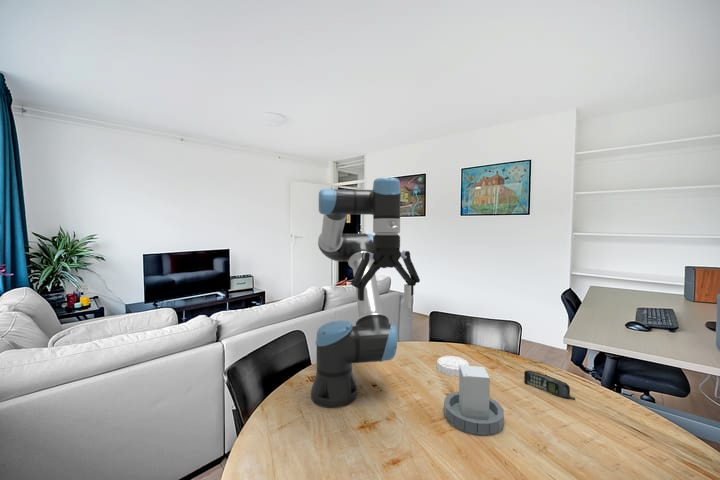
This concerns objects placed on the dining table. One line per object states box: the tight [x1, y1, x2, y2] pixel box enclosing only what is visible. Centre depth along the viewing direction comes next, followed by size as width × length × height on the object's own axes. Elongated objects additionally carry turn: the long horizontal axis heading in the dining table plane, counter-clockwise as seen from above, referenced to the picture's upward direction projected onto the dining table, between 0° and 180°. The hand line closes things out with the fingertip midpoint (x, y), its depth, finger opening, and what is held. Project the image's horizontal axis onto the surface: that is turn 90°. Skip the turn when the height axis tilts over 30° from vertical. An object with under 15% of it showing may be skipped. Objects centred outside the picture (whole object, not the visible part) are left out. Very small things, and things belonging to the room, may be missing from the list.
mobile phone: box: [523, 370, 576, 401], centre depth 103 cm, size 5×3×15 cm
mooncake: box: [436, 355, 470, 378], centre depth 119 cm, size 12×12×4 cm
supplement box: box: [458, 365, 491, 420], centre depth 89 cm, size 7×7×13 cm
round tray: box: [443, 390, 505, 437], centre depth 89 cm, size 16×16×3 cm
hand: (386, 309), depth 86 cm, fingers open, 13 cm apart
